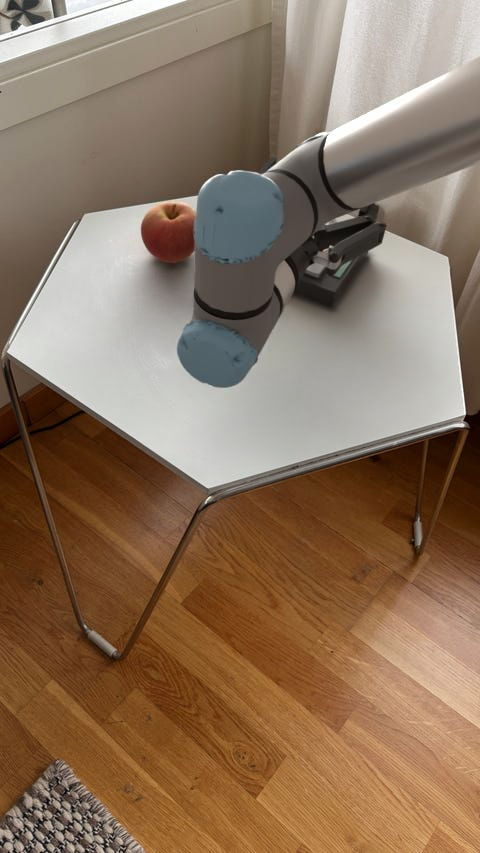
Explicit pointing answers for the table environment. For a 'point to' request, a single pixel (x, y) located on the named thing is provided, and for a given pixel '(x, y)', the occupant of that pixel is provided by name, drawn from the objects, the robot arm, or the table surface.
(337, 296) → the scale
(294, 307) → the table surface
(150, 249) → the apple
